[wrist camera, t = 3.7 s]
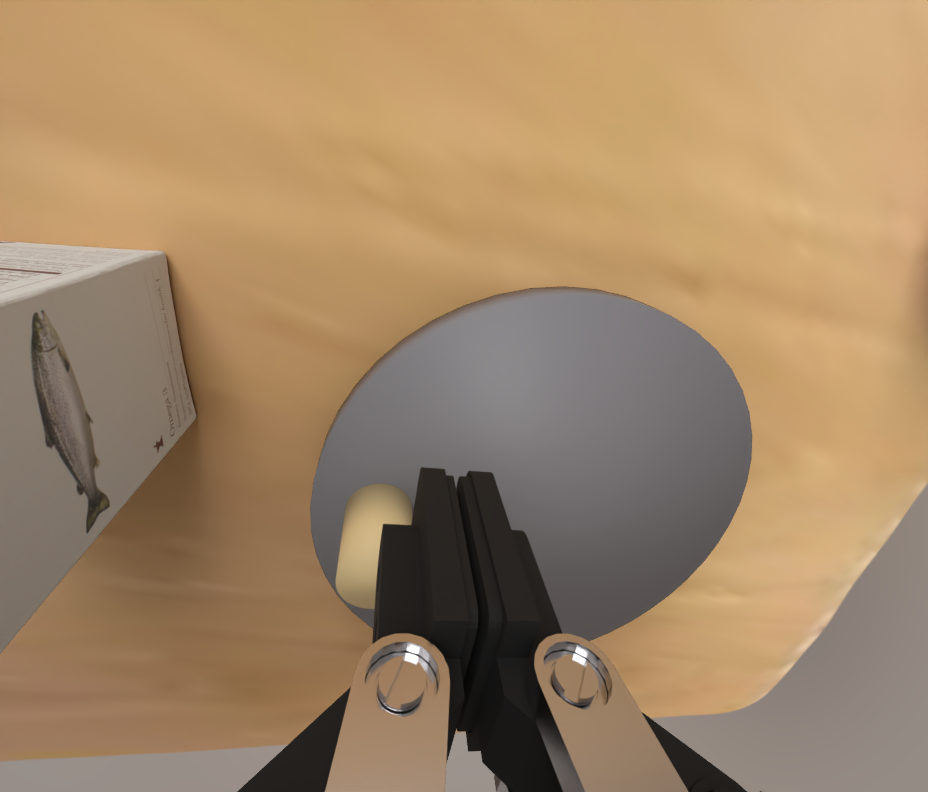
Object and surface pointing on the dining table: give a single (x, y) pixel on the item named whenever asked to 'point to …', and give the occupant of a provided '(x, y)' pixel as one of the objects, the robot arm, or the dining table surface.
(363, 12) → the dining table surface
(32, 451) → the supplement box
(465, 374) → the disc
